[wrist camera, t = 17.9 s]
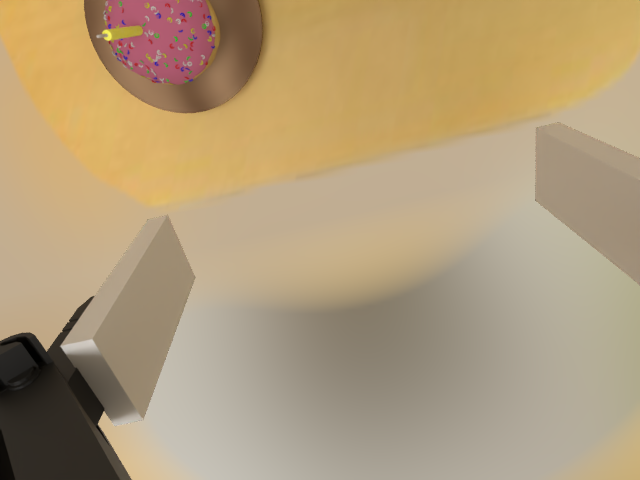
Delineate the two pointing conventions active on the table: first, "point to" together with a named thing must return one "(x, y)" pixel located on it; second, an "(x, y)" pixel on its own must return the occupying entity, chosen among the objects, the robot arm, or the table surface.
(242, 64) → the brown plate
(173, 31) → the cupcake
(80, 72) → the table surface
